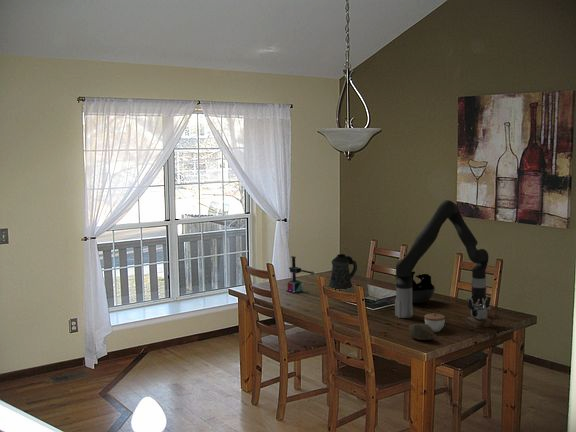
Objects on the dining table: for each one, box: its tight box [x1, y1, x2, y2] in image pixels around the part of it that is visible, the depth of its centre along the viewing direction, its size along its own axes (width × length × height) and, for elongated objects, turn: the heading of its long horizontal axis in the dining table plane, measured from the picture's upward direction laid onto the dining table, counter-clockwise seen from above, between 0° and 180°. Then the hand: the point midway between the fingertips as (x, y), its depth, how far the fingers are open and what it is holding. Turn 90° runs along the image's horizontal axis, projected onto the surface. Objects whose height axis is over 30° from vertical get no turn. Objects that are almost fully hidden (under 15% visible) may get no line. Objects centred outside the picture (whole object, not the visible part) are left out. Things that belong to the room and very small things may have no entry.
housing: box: [470, 304, 488, 319], centre depth 346 cm, size 8×5×6 cm, turn 15°
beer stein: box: [328, 253, 358, 291], centre depth 433 cm, size 16×19×25 cm
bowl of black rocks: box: [412, 270, 436, 304], centre depth 394 cm, size 20×20×19 cm
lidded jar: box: [424, 312, 446, 333], centre depth 339 cm, size 11×11×9 cm
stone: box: [407, 323, 436, 341], centre depth 325 cm, size 17×9×8 cm, turn 40°
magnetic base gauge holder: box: [285, 255, 315, 294], centre depth 431 cm, size 25×9×24 cm, turn 39°
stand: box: [463, 316, 495, 329], centre depth 347 cm, size 11×11×3 cm
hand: (478, 315), depth 347 cm, fingers closed on housing, 5 cm apart
